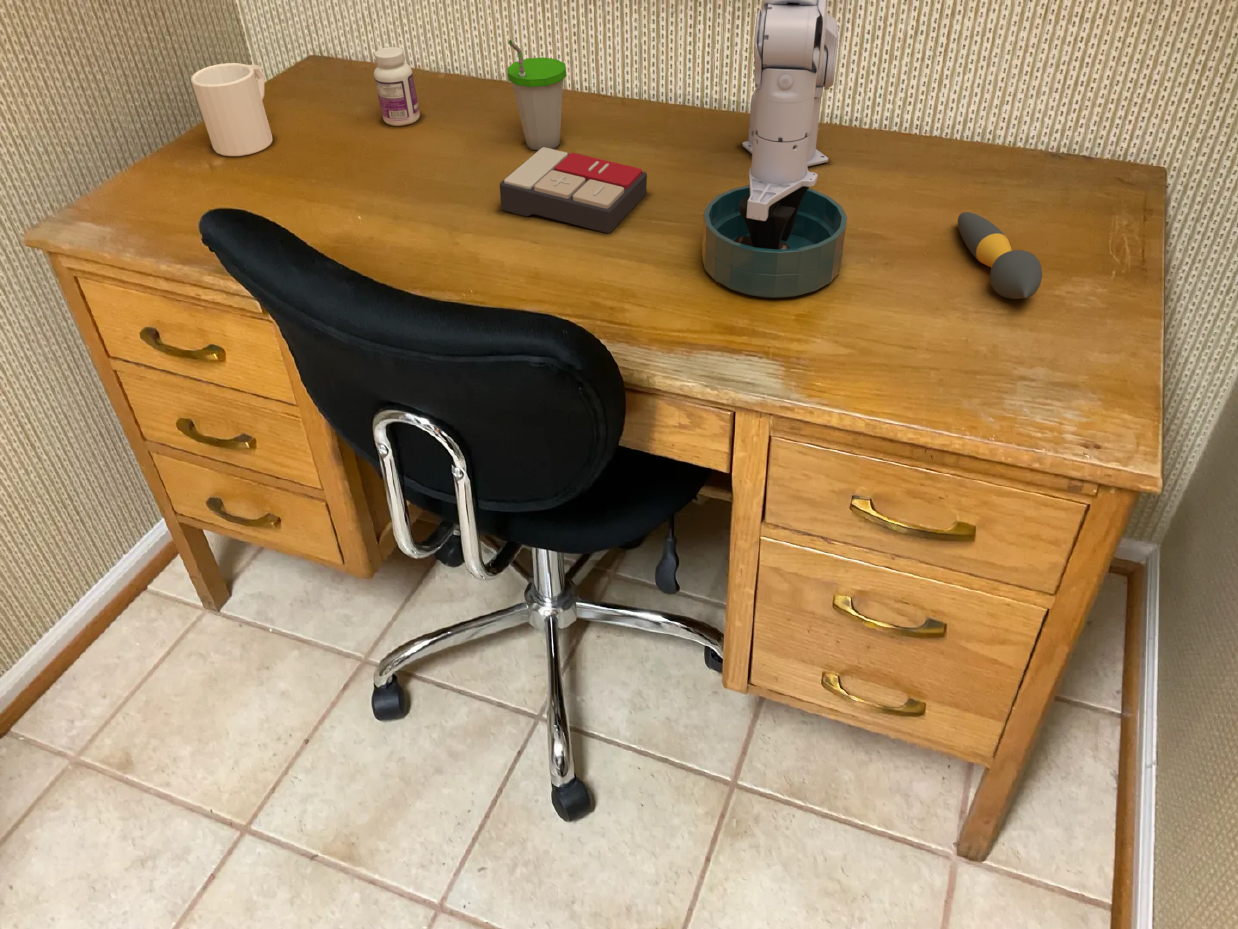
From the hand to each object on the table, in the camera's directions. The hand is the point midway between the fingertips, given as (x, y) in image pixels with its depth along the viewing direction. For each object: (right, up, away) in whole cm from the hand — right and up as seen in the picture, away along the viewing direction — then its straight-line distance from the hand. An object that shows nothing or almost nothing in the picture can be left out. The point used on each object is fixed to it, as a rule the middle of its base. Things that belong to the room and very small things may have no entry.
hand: (771, 249), depth 107 cm
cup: (-27, +20, +26) cm, 43 cm away
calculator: (-22, +9, +14) cm, 28 cm away
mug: (-69, +22, +31) cm, 79 cm away
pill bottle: (-49, +26, +34) cm, 65 cm away
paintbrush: (+24, -3, -1) cm, 24 cm away
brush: (0, -1, +1) cm, 1 cm away
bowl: (0, -1, +1) cm, 2 cm away
